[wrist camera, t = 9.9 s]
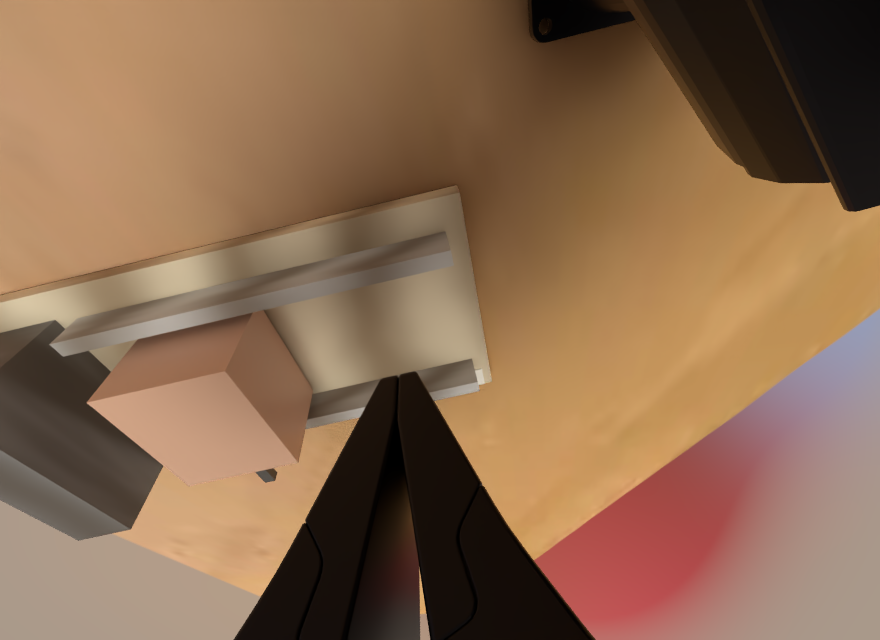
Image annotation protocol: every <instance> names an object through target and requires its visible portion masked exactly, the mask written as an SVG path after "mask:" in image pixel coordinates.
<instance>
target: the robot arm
mask: <svg viewBox="0 0 880 640" xmlns="http://www.w3.org/2000/svg"><path fill="white" fill-rule="evenodd" d="M528 10H529V30H530V35H531V37H532V38H533V40H535V41H536V42H540V43H546V42H550V41H554V40H558V39H562V38H566V37H570V36H574V35H578V34H582V33H585V32H589V31H593V30H597V29H601V28H605V27H609V26H613V25H617V24H621V23H625V22H629V21H633V20H636V21H637V23H638V24H639V26H640V27H641V29H642V30H643V32H644V33H645V35H646V37H647V38H648V40H649V41H650V43H651V44H652V46H653V47H654V49H655V51H656V52H657V54H658V55H659V57H660V58H661V60H662V61H663V63H664V65H665V66H666V68H667V69H668V71H669V72H670V74H671V75H672V77H673V78H674V80H675V82H676V83H677V85H678V86H679V88H680V89H681V91H682V92H683V94H684V96H685V97H686V99H687V100H688V102H689V103H690V105H691V106H692V108H693V110H694V111H695V113H696V114H697V116H698V117H699V119H700V120H701V122H702V124H703V125H704V127H705V128H706V130H707V131H708V133H709V134H710V136H711V137H712V139H713V141H714V142H715V144H716V145H717V146H718V147H719V148H720V149H721V150H722V151H723V152H724V153H725V154H726V155H727V156H728V157H729V158H731V159H732V160H733V161H734V162H735V163H736V164H738V165H741V166H743V167H744V168H745V170H746V172H747V173H748V174H749V175H750V176H751V177H754V178H759V179H764V180H768V181H773V182H778V183H829V182H831V183H832V186H833V188H834V190H835V192H836V194H837V196H838V198H839V201H840V203H841V205H842V207H843V209H844V210H847V211H854V212H856V211H860V210H864V209H868V208H872V207H875V206H879V205H880V0H528ZM544 18H546V19H547V20H548V23H549V26H548V30H547V31H546V33H544V34H543V35H542V34H541V33H540V31H539V24H540V22H541V20H542V19H544ZM305 521H306V523H304V524H302V526H301V528H300V530H299V532H298V534H297V536H296V538H295V539H294V541H293V543H292V545H291V547H290V549H289V550H288V552H287V554H286V556H285V557H284V559H283V561H282V563H281V564H280V566H279V568H278V570H277V572H276V573H275V575H274V577H273V578H272V580H271V581H270V583H269V585H268V586H267V588H266V590H265V591H264V593H263V594H262V596H261V598H260V599H259V601H258V603H257V604H256V606H255V608H254V609H253V611H252V612H251V614H250V615H249V617H248V618H247V620H246V622H245V623H244V625H243V626H242V628H241V629H240V631H239V632H238V634H237V635H236V637H235V639H234V640H420V591H419V567H420V574H421V581H422V587H423V594H424V600H425V607H426V613H427V620H428V626H429V633H430V640H595V638H594V637H593V636H592V635H591V633H590V632H589V631H588V630H587V628H586V627H585V626H584V625H583V624H582V622H581V621H580V620H579V618H578V617H577V616H576V615H575V613H574V612H573V611H572V609H571V608H570V607H569V605H568V604H567V603H566V602H565V600H564V599H563V598H562V596H561V595H560V594H559V593H558V591H557V590H556V589H555V587H554V586H553V585H552V584H551V582H550V581H549V580H548V578H547V577H546V576H545V575H544V573H543V572H542V571H541V569H540V568H539V567H538V565H537V564H536V563H535V562H534V560H533V559H532V558H531V556H530V555H529V554H528V552H527V551H526V550H525V548H524V547H523V546H522V544H521V543H520V541H519V540H518V539H517V537H516V536H515V535H514V533H513V532H512V530H511V529H510V528H509V526H508V525H507V523H506V521H505V520H504V518H503V517H502V515H501V514H500V512H499V510H498V509H497V507H496V506H495V504H494V502H493V501H492V499H491V497H490V496H489V494H488V492H487V490H486V489H485V487H484V486H482V482H481V481H480V479H479V477H478V475H477V474H476V472H475V470H474V469H473V467H472V465H471V463H470V462H469V460H468V458H467V457H466V455H465V453H464V452H463V450H462V448H461V446H460V445H459V443H458V441H457V440H456V438H455V436H454V434H453V433H452V431H451V429H450V428H449V426H448V424H447V422H446V421H445V419H444V417H443V416H442V414H441V412H440V411H439V409H438V407H437V405H436V404H435V402H434V400H433V399H432V397H431V395H430V393H429V392H428V390H427V388H426V387H425V385H424V383H423V381H422V380H421V378H420V376H419V375H418V373H417V372H416V371H412V372H407V373H403V374H400V376H397V375H394V376H390V377H385V378H382V379H381V380H380V381H379V382H378V384H377V386H376V388H375V390H374V392H373V394H372V396H371V397H370V399H369V401H368V403H367V405H366V407H365V409H364V411H363V412H362V414H361V416H360V418H359V420H358V422H357V424H356V426H355V427H354V429H353V431H352V433H351V435H350V437H349V439H348V441H347V442H346V444H345V446H344V448H343V450H342V452H341V454H340V456H339V457H338V459H337V461H336V463H335V465H334V467H333V469H332V470H331V472H330V474H329V476H328V478H327V480H326V482H325V484H324V485H323V487H322V489H321V491H320V493H319V495H318V497H317V499H316V500H315V502H314V504H313V506H312V508H311V510H310V512H309V514H308V515H307V517H306V519H305Z"/></svg>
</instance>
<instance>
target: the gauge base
mask: <svg viewBox="0 0 880 640" xmlns="http://www.w3.org/2000/svg"><path fill="white" fill-rule="evenodd" d="M261 310H264V312H265V314H266V315H267V317H268V318H269V320H270V322H271V323H272V325H273V326H274V328H275V330H276V331H277V333H278V335H279V336H280V338H281V339H282V341H283V343H284V344H285V346H286V347H287V349H288V351H289V352H290V354H291V355H292V357H293V359H294V360H295V362H296V364H297V365H298V367H299V368H300V370H301V372H302V373H303V375H304V376H305V378H306V380H307V381H308V383H309V385H310V386H311V388H312V389H313V394H312V399H311V404H310V408H309V413H308V418H307V423H306V428H305V429H309V428H313V427H318V426H322V425H327V424H331V423H336V422H341V421H345V420H350V419H354V418H359V417H360V416H361V414H362V412H363V411H364V409H365V407H366V405H367V403H368V401H369V399H370V397H371V396H372V394H373V392H374V390H375V388H376V386H377V384H378V382H379V381H380V380H381V379H382V378H385V377H390V376H394V375H397V376H400V374H403V373H407V372H412V371H416V372H417V373H418V375H419V376H420V378H421V380H422V381H423V383H424V385H425V387H426V388H427V390H428V392H429V393H430V395H431V397H432V399H433V400H434V401H436V400H440V399H445V398H449V397H454V396H459V395H463V394H468V393H472V392H477V391H480V390H479V385H481V384H485V383H488V382H492V379H491V373H490V367H489V361H488V355H487V349H486V344H485V338H484V332H483V326H482V320H481V314H480V308H479V302H478V297H477V291H476V285H475V279H474V273H473V267H472V261H471V255H470V250H469V244H468V238H467V232H466V226H465V220H464V214H463V208H462V203H461V197H460V192H459V189H458V187H457V185H455V186H451V187H447V188H443V189H439V190H435V191H430V192H426V193H422V194H418V195H414V196H410V197H406V198H401V199H397V200H393V201H389V202H385V203H381V204H377V205H372V206H368V207H364V208H360V209H356V210H352V211H347V212H343V213H339V214H335V215H331V216H327V217H323V218H318V219H314V220H310V221H306V222H302V223H298V224H294V225H289V226H285V227H281V228H277V229H273V230H269V231H265V232H260V233H256V234H252V235H248V236H244V237H240V238H235V239H231V240H227V241H223V242H219V243H215V244H211V245H206V246H202V247H198V248H194V249H190V250H186V251H182V252H177V253H173V254H169V255H165V256H161V257H157V258H153V259H148V260H144V261H140V262H136V263H132V264H128V265H123V266H119V267H115V268H111V269H107V270H103V271H99V272H94V273H90V274H86V275H82V276H78V277H74V278H70V279H65V280H61V281H57V282H53V283H49V284H45V285H41V286H36V287H32V288H28V289H24V290H20V291H16V292H11V293H7V294H3V295H0V500H1V501H3V502H5V503H7V504H9V505H11V506H13V507H15V508H17V509H19V510H21V511H22V512H24V513H27V514H28V515H30V516H32V517H34V518H36V519H38V520H40V521H42V522H44V523H46V524H48V525H50V526H51V527H53V528H55V529H57V530H59V531H61V532H63V533H65V534H67V535H69V536H71V537H73V538H75V539H76V540H83V539H88V538H93V537H97V536H102V535H107V534H111V533H116V532H121V531H125V530H130V529H131V528H132V526H133V524H134V522H135V520H136V518H137V516H138V514H139V512H140V510H141V508H142V506H143V505H144V503H145V501H146V499H147V497H148V495H149V493H150V491H151V489H152V487H153V485H154V483H155V481H156V479H157V477H158V475H159V473H160V471H161V469H162V468H163V465H162V464H161V463H160V462H158V461H157V460H156V459H155V458H153V457H152V456H151V455H150V454H149V453H147V452H146V451H145V450H144V449H142V448H141V447H140V446H139V445H138V444H136V443H135V442H134V441H133V440H131V439H130V438H129V437H128V436H127V435H125V434H124V433H123V432H122V431H120V430H119V429H118V428H117V427H116V426H114V425H113V424H112V423H111V422H109V421H108V420H107V419H106V418H105V417H103V416H102V415H101V414H100V413H98V412H97V411H96V410H95V409H94V408H92V407H91V406H90V405H89V404H87V401H88V400H89V399H90V398H91V396H92V395H93V394H94V393H95V391H96V390H97V389H98V388H99V387H100V385H101V384H102V383H103V382H104V380H105V379H106V378H107V377H108V375H109V374H110V373H111V372H112V370H113V369H114V368H115V367H116V365H117V364H118V363H119V362H120V360H121V359H122V358H123V357H124V356H125V354H126V353H127V352H128V351H129V349H130V348H131V347H132V346H133V344H134V343H135V342H136V341H137V339H141V338H146V337H150V336H154V335H158V334H163V333H167V332H171V331H176V330H180V329H184V328H188V327H193V326H197V325H201V324H206V323H210V322H214V321H218V320H223V319H227V318H231V317H236V316H240V315H244V314H249V313H253V312H257V311H261Z"/></svg>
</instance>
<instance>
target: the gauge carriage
mask: <svg viewBox="0 0 880 640" xmlns="http://www.w3.org/2000/svg"><path fill="white" fill-rule="evenodd" d="M312 394H313V389H312V388H311V386H310V385H309V383H308V381H307V380H306V378H305V376H304V375H303V373H302V372H301V370H300V368H299V367H298V365H297V364H296V362H295V360H294V359H293V357H292V355H291V354H290V352H289V351H288V349H287V347H286V346H285V344H284V343H283V341H282V339H281V338H280V336H279V335H278V333H277V331H276V330H275V328H274V326H273V325H272V323H271V322H270V320H269V318H268V317H267V315H266V314H265V312H264V310H261V311H257V312H253V313H249V314H244V315H240V316H236V317H231V318H227V319H223V320H218V321H214V322H210V323H206V324H201V325H197V326H193V327H188V328H184V329H180V330H176V331H171V332H167V333H163V334H158V335H154V336H150V337H146V338H141V339H137V341H136V342H135V343H134V344H133V346H132V347H131V348H130V349H129V351H128V352H127V353H126V354H125V356H124V357H123V358H122V359H121V360H120V362H119V363H118V364H117V365H116V367H115V368H114V369H113V370H112V372H111V373H110V374H109V375H108V377H107V378H106V379H105V380H104V382H103V383H102V384H101V385H100V387H99V388H98V389H97V390H96V391H95V393H94V394H93V395H92V396H91V398H90V399H89V400H88V401H87V404H89V405H90V406H91V407H92V408H94V409H95V410H96V411H97V412H98V413H100V414H101V415H102V416H103V417H105V418H106V419H107V420H108V421H109V422H111V423H112V424H113V425H114V426H116V427H117V428H118V429H119V430H120V431H122V432H123V433H124V434H125V435H127V436H128V437H129V438H130V439H131V440H133V441H134V442H135V443H136V444H138V445H139V446H140V447H141V448H142V449H144V450H145V451H146V452H147V453H149V454H150V455H151V456H152V457H153V458H155V459H156V460H157V461H158V462H160V463H161V464H162V465H163V466H164V467H166V468H167V469H168V470H169V471H171V472H172V473H173V474H174V475H175V476H177V477H178V478H179V479H180V480H182V481H183V482H184V483H185V484H186V485H188V486H193V485H198V484H203V483H207V482H212V481H216V480H221V479H226V478H230V477H235V476H239V475H244V474H249V473H253V472H256V473H257V474H258V475H259V477H260V478H261V479H262V480H263V481H264V482H265V483H266V482H270V481H275V479H276V475H277V472H276V471H275V470H274V468H276V467H281V466H285V465H290V464H295V463H298V462H299V457H300V452H301V447H302V442H303V438H304V433H305V428H306V423H307V418H308V413H309V408H310V404H311V399H312Z"/></svg>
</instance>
